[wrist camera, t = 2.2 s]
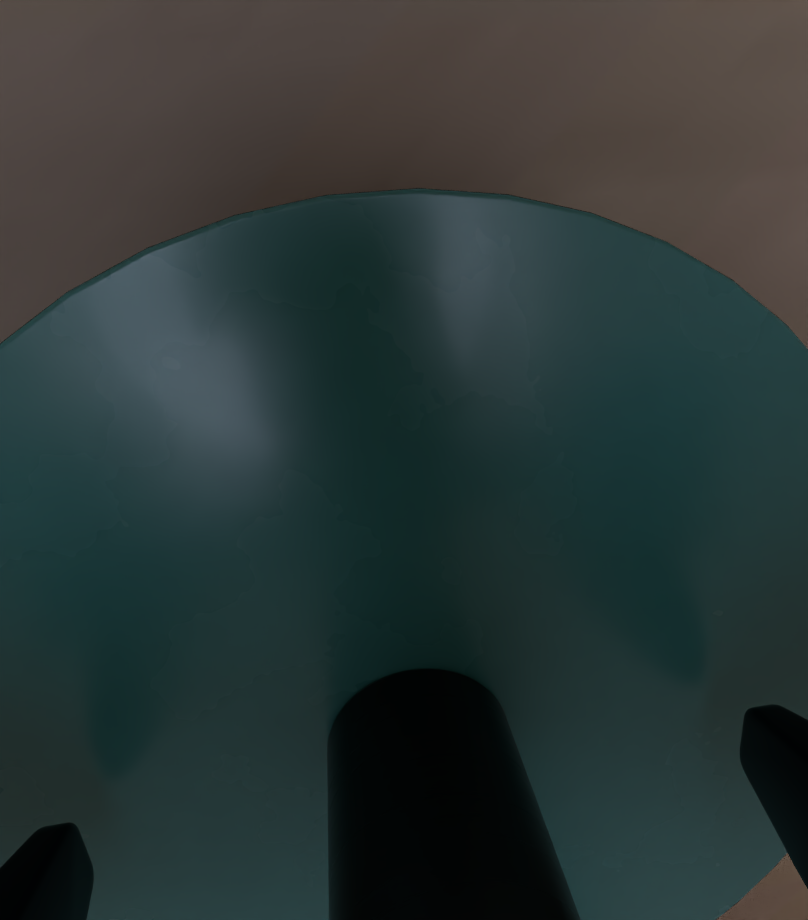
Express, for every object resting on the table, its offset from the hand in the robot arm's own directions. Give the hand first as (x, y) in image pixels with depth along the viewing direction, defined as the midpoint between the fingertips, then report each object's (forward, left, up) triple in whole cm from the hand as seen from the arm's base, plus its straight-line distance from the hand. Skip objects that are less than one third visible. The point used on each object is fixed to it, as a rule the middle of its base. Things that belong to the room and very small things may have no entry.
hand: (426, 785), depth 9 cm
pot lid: (0, 0, -1) cm, 1 cm away
